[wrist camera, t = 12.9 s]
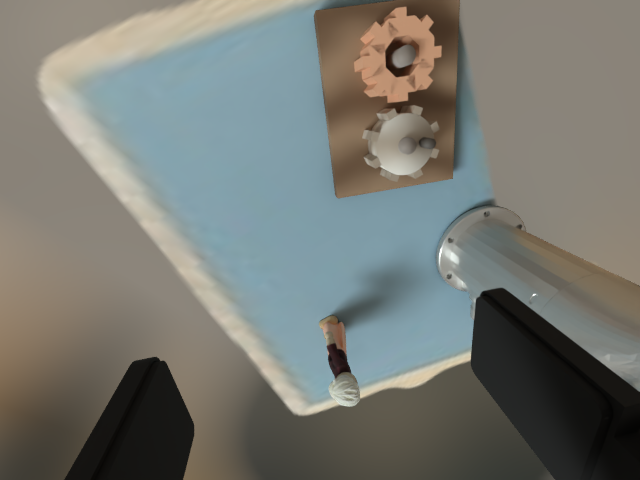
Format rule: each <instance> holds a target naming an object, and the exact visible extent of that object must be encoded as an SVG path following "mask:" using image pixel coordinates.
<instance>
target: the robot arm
mask: <svg viewBox="0 0 640 480" xmlns="http://www.w3.org/2000/svg"><path fill="white" fill-rule="evenodd" d="M436 264H437V268H438V271H439V273H440V275H441V277H442V278H443V279H444V280H445V281H446V282H447V283H448V284H449V285H450V286H452V287H453V288H455V289H458V290H461V291H465V292H468V293H469V294H470V296H469V298H470V300H472V305H471V312H470V317H471V318H472V319H473V320H474V328H473V340H472V352H471V367H472V370H473V372H474V374H475V375H476V376H477V378H478V379H479V380H480V382H481V383H482V384H483V386H484V387H485V388H486V390H487V391H488V392H489V393H490V395H491V396H492V397H493V399H494V400H495V401H496V403H497V404H498V405H499V407H500V408H501V409H502V411H503V412H504V413H505V415H506V416H507V417H508V418H509V420H510V421H511V422H512V424H513V425H514V426H515V428H516V429H517V430H518V432H519V433H520V434H521V435H522V437H523V438H524V439H525V441H526V442H527V443H528V445H529V446H530V447H531V449H532V450H533V451H534V453H535V454H536V455H537V457H538V458H539V459H540V460H541V462H542V463H543V464H544V466H545V467H546V468H547V470H548V471H549V472H550V474H551V475H552V476H553V478H554V479H555V480H640V286H639V285H637V284H635V283H633V282H631V281H628V280H626V279H624V278H622V277H620V276H618V275H615V274H613V273H611V272H609V271H607V270H605V269H603V268H601V267H598V266H596V265H594V264H592V263H590V262H588V261H586V260H584V259H582V258H580V257H577V256H575V255H573V254H571V253H569V252H567V251H565V250H563V249H560V248H558V247H556V246H554V245H552V244H550V243H548V242H546V241H544V240H542V239H540V238H537V237H535V236H533V235H531V234H529V233H527V232H526V229H525V226H524V224H523V221H522V220H521V219H520V217H519V216H518V215H516V214H515V213H514V212H512V211H510V210H508V209H506V208H503V207H499V206H482V207H478V208H475V209H472V210H470V211H468V212H466V213H464V214H463V215H461V216H460V217H459V218H457V219H456V220H455V221H454V222H453V223H452V224H451V225H450V226H449V227H448V228H447V230H446V231H445V233H444V234H443V236H442V238H441V240H440V242H439V245H438V248H437V253H436ZM193 437H194V423H193V421H192V419H191V416H190V414H189V412H188V410H187V408H186V405H185V403H184V401H183V399H182V396H181V394H180V392H179V390H178V388H177V385H176V383H175V381H174V379H173V377H172V374H171V372H170V370H169V368H168V366H167V364H166V362H165V361H160V360H159V358H157V357H152V358H147V359H142V360H137V361H134V362H132V364H131V365H130V367H129V368H128V370H127V372H126V373H125V375H124V377H123V379H122V380H121V382H120V384H119V386H118V387H117V389H116V391H115V393H114V394H113V396H112V398H111V400H110V401H109V403H108V405H107V406H106V408H105V410H104V412H103V413H102V415H101V417H100V419H99V420H98V422H97V424H96V426H95V428H94V429H93V431H92V433H91V434H90V436H89V438H88V440H87V441H86V443H85V445H84V447H83V448H82V450H81V452H80V454H79V455H78V457H77V459H76V460H75V462H74V464H73V466H72V467H71V469H70V471H69V473H68V474H67V476H66V478H65V480H183V477H184V473H185V470H186V465H187V462H188V458H189V453H190V449H191V446H192V441H193Z"/></svg>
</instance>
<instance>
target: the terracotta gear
mask: <svg viewBox="0 0 640 480" xmlns="http://www.w3.org/2000/svg"><path fill="white" fill-rule="evenodd" d="M433 23H434V22H433V21H432V20H431V19H430V17H429V16H428V15H426V16H424V17H423V18H421V19H418V18H417V16H415V15H413V16H407V10H406V7H399V8H396V9H394V10H393V11H392V12H391V13H390V14H389V15H388V16H386V17H385V18H384V23H382V24H381V25H379V24H378V23H377V22H375V23H373V24H372V25H371V26H370V27H369V28H368V29H367V30H366V31H365V32H364V34H363V35H362V37H361V38H360V40H361V41H362V42H363V43H364V44H365V46H364V47H363V48H362V50H361V52H360V56H361V58H359V59H358V60H356V61H355V62H354V69H355V72H360V71H362V80H363V81H364V82H365V83H366V84H367V85H368V86H367V88H366V89H365V90H364V92H365V93H366V94H367V95H368V96H369V97H376V96H380V97H381V96H387V99H388V103H392V102H401V101H408V92H414V91H417V90H423V89H427V88H428V86H429V85H430V84H431V83H432V81H433V80H432V79H431V78H430V77H429V76H428V75H429V74H430V72H431V71H432V70H433V67H434V59H437V58H440V57H441V49H442V46H435V47H434V35H433V34H432V33H431V32H430V31H429V28H430V27H431V26H432V24H433ZM390 43H397V44H398V45H399V46H400V47H402V46H404V45H412V46H413V47H414V49H415V51H416V57H415V60H414V61H413V63H412V64H410V65H408V66H406V68H405V69H404V71H403V72H402V73H401V75H400V76H399V77H395V76H394V75H393V74H392V73H391V72H390V71H389V70H388V69H387V68H386V60H385V50H386V49H387V47H388V46H389V44H390Z"/></svg>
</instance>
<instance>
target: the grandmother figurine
mask: <svg viewBox="0 0 640 480" xmlns="http://www.w3.org/2000/svg"><path fill="white" fill-rule="evenodd" d="M319 325H320V327H321V328H322V329H323V331H324V338H325V339H326V343H327V350H328V361H329V365H330V368H331V370H332V372H333V374H334V376H335V379H334V381H333V382H331V383H330V385H329V391H330V395H331V396H332V397H333V398H334V399H335V400H336V401H337V403H339V404H340V405H343V406H354V405H356V404H357V403H358V402H359V400H360V391H359V387H358V385H357V380H356V378H355V376H354V375H353V374H351V370H350V367H349V365H348V362H347V354H346V335H345V328H344V324H343V323H342V322H340V323H339V324H338V319H337V317H336V316H333V315H332V316H328V317H326V318H325V319H323V320H321V321H320V323H319Z"/></svg>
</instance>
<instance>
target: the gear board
mask: <svg viewBox="0 0 640 480" xmlns="http://www.w3.org/2000/svg"><path fill="white" fill-rule="evenodd" d="M459 6H460V0H395V1H387V2H379V3H371V4H363V5H355V6H348V7H340V8H332V9H324V10H316V11H315V14H314V21H315V29H316V37H317V46H318V54H319V63H320V71H321V79H322V88H323V96H324V104H325V113H326V121H327V129H328V138H329V146H330V154H331V163H332V171H333V179H334V188H335V195H336V197H337V198H343V197H349V196H355V195H360V194H366V193H372V192H378V191H384V190H390V189H395V188H401V187H407V186H413V185H419V184H424V183H430V182H436V181H442V180H448V179H453V160H454V134H455V109H456V83H457V58H458V32H459ZM399 7H406V10H407V16H413V15H415V16H417V18H418V19H421V18H423V17H424V16H426V15H428V16H429V17H430V19H431V20H432V21H433V22H434V23H433V24H432V26H431V27H430V28H429V31H430V32H431V33H432V34H433V35H434V47H435V46H442V49H441V57H440V58H437V59H434V67H433V70H432V71H431V72H430V74H429V75H428V76H429V77H430V78H431V79H432V80H433V81H432V83H431V84H430V85H429V86H428V88H427V89H423V90H417V91H414V92H408V101H401V102H392V103H388V99H387V96H381V97H380V96H376V97H369V96H368V95H367V94H366V93H365V92H364V90H365V89H366V88H367V86H368V85H367V84H366V83H365V82H364V81H363V80H362V71H360V72H355V69H354V62H355V61H356V60H358V59H359V58H361V56H360V52H361V50H362V48H363V47H364V46H365V44H364V43H363V42H362V41H361V40H360V38H361V37H362V35H363V34H364V32H365V31H366V30H367V29H368V28H369V27H370V26H371V25H372V24H373V23H375V22H377V23H378V24H379V25H381V24H382V23H384V18H385V17H386V16H388V15H389V14H390V13H391V12H392V11H393V10H394V9H396V8H399ZM415 57H416V51H415V49H414V47H413V46H412V45H404V46H402V47H400V46H399V45H398V44H397V43H390V44H389V46H388V47H387V49H386V50H385V60H386V68H387V69H388V70H389V71H390V72H391V73H392V74H393V75H394V76H395V77H399V76H400V75H401V73H402V72H403V71H404V69H405V68H406V66H408V65H410V64H412V63H413V61H414V60H415Z"/></svg>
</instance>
